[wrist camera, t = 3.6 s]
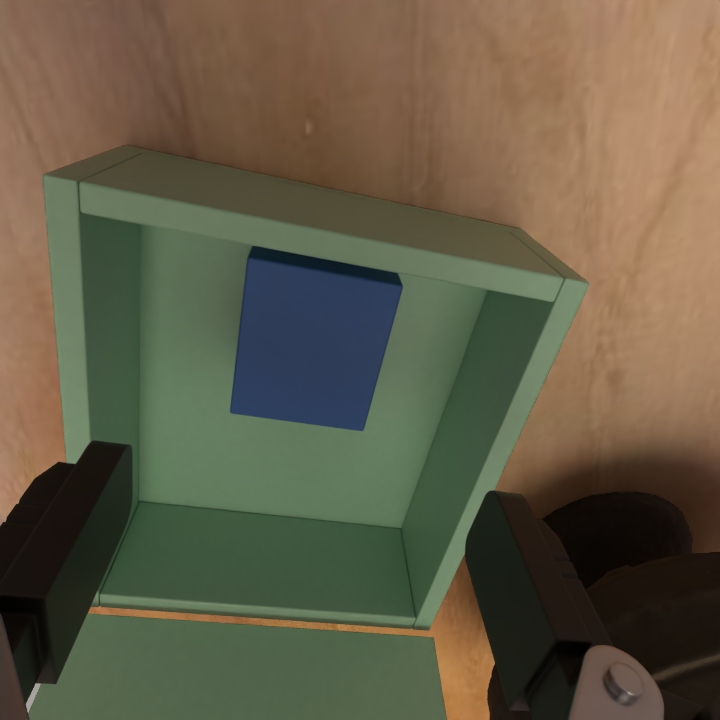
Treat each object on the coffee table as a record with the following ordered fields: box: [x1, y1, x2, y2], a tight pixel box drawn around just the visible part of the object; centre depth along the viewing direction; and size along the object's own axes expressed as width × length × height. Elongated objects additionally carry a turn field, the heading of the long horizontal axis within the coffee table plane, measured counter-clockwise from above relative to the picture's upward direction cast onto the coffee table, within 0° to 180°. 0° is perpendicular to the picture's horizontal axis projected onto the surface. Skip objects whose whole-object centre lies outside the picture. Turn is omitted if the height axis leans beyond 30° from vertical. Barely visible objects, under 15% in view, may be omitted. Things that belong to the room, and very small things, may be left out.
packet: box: [230, 246, 403, 431], centre depth 18 cm, size 5×6×3 cm
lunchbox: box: [43, 145, 589, 630], centre depth 20 cm, size 17×15×6 cm
